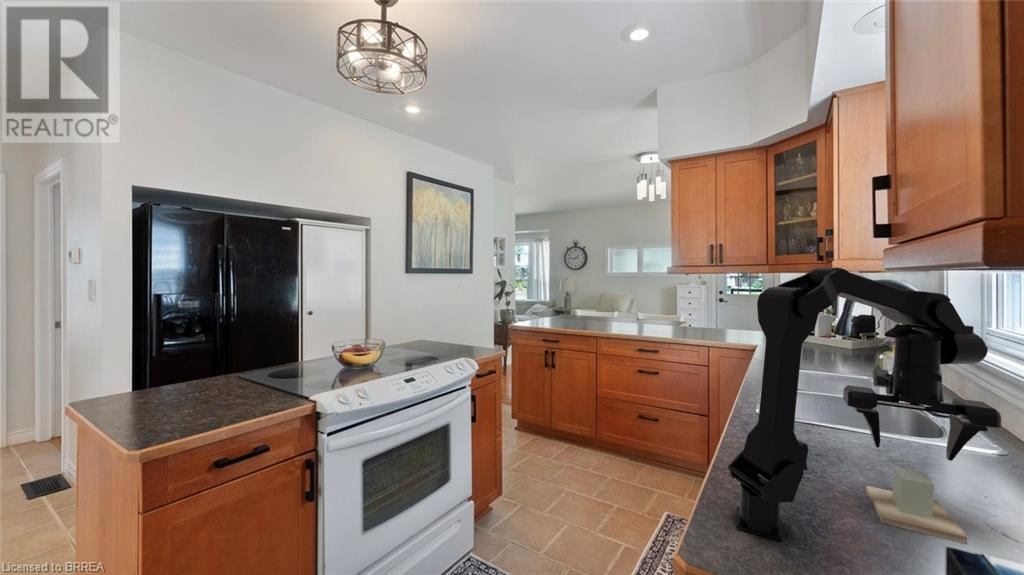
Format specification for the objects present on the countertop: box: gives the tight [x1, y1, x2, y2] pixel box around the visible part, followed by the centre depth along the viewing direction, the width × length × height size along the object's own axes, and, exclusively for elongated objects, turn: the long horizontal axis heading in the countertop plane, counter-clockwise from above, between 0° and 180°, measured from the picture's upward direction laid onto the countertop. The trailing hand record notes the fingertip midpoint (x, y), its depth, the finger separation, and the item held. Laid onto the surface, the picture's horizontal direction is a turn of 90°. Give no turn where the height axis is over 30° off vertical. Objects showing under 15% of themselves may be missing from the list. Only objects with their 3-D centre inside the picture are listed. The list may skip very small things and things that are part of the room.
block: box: [891, 466, 935, 520], centre depth 71 cm, size 5×4×6 cm
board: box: [865, 485, 969, 544], centre depth 71 cm, size 12×10×1 cm
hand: (911, 453), depth 71 cm, fingers open, 9 cm apart
